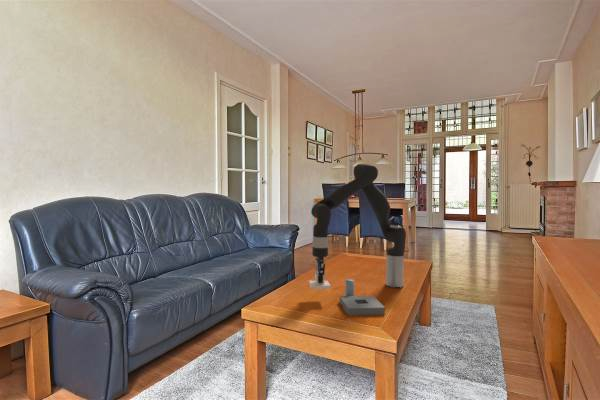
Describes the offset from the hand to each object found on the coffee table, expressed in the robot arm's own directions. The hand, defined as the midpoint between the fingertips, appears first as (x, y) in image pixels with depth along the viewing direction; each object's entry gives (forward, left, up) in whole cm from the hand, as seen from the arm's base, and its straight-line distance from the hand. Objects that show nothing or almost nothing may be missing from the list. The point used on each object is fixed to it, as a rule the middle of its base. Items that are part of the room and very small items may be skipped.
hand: (319, 281), depth 158 cm
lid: (0, 0, -2) cm, 2 cm away
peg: (-1, +15, -9) cm, 17 cm away
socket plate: (+12, +17, -9) cm, 23 cm away
